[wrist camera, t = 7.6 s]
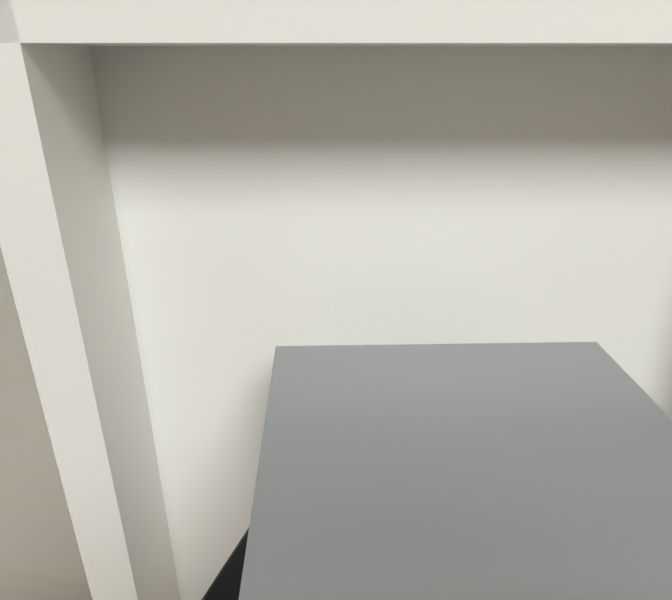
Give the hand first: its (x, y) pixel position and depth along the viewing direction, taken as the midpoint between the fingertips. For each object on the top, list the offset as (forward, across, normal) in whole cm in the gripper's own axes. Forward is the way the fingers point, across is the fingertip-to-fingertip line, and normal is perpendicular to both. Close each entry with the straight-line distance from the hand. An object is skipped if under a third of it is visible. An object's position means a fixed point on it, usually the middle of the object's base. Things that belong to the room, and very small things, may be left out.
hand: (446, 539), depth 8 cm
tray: (+4, 0, 0) cm, 4 cm away
